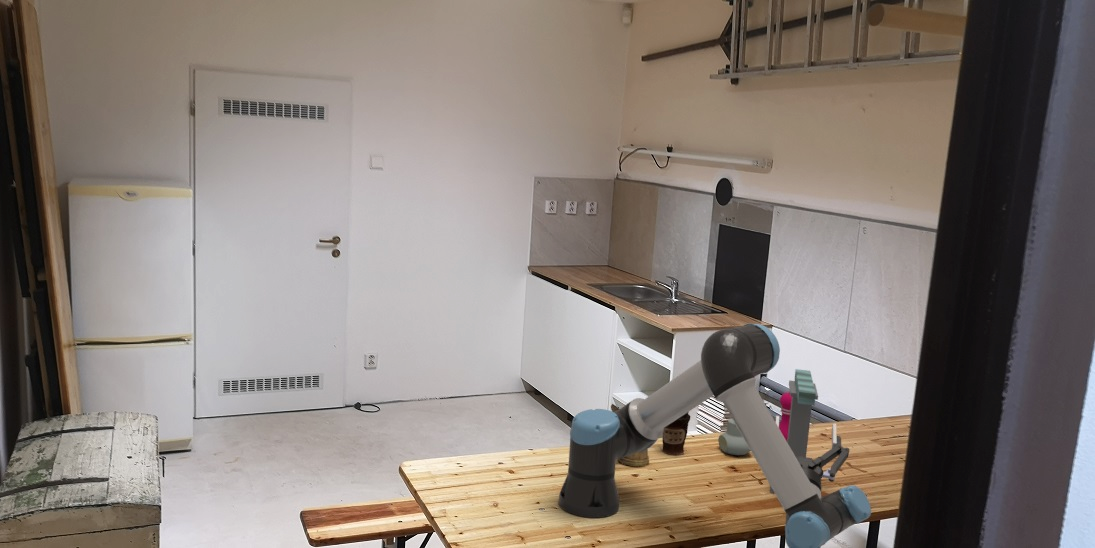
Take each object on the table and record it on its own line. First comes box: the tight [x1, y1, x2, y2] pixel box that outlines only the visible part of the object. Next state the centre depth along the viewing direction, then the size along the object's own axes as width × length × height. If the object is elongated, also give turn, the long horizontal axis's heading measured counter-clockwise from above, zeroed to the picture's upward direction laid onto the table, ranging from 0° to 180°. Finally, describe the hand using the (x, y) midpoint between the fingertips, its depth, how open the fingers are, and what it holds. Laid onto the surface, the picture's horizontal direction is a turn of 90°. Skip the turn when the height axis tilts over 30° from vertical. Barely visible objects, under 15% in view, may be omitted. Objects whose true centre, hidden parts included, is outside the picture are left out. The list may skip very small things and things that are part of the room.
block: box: [794, 368, 816, 406], centre depth 225 cm, size 26×4×3 cm, turn 165°
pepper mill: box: [779, 388, 792, 441], centre depth 261 cm, size 7×7×20 cm
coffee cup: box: [662, 411, 691, 456], centre depth 252 cm, size 9×8×13 cm
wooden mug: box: [610, 403, 650, 468], centre depth 241 cm, size 9×14×18 cm, turn 117°
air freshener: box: [717, 418, 752, 456], centre depth 256 cm, size 11×8×10 cm
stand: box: [769, 379, 819, 494], centre depth 230 cm, size 16×12×28 cm
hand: (805, 423), depth 209 cm, fingers open, 13 cm apart
